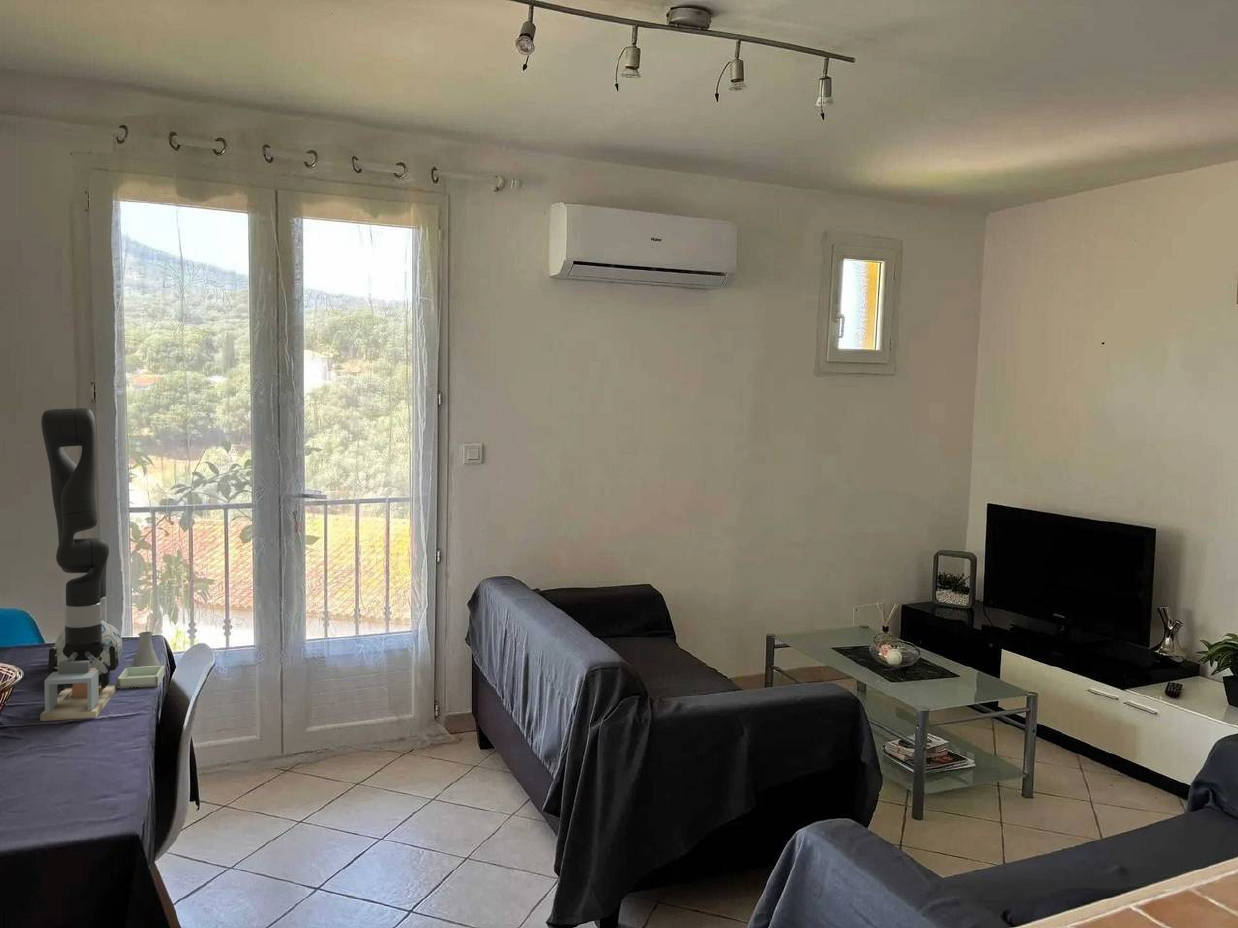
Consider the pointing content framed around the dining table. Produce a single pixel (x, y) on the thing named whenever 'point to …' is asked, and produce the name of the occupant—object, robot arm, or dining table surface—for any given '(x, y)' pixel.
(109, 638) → the puzzle ball
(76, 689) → the terracotta block
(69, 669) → the sliding cover
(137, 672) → the pale sage tray
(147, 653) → the flask
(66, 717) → the puzzle board
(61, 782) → the dining table surface
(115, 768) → the dining table surface
